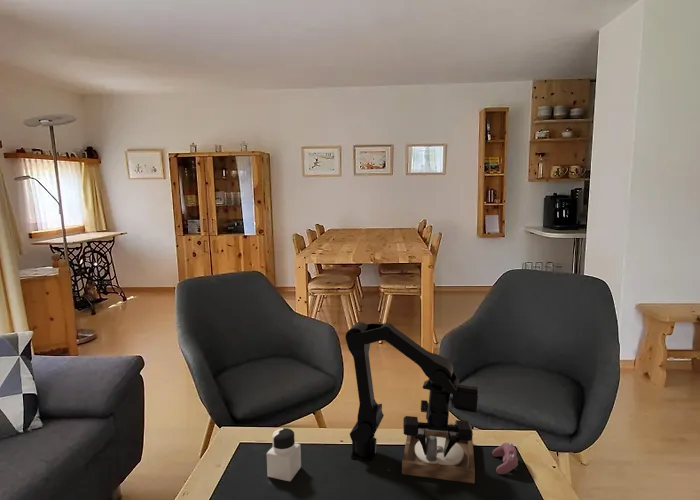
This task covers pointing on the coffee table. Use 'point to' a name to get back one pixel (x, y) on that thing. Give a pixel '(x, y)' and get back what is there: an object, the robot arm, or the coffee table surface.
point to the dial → (439, 452)
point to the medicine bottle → (283, 455)
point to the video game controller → (506, 457)
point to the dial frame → (454, 473)
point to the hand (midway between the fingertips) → (434, 455)
